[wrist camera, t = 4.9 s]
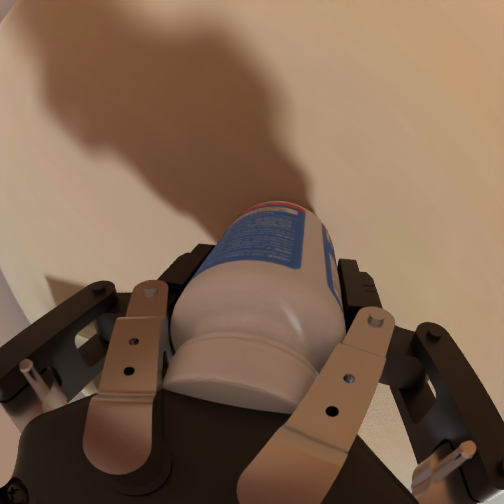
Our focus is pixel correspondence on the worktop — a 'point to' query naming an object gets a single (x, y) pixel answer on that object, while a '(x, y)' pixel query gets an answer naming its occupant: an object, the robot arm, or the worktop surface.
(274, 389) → the pill bottle
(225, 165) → the worktop surface
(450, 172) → the worktop surface
